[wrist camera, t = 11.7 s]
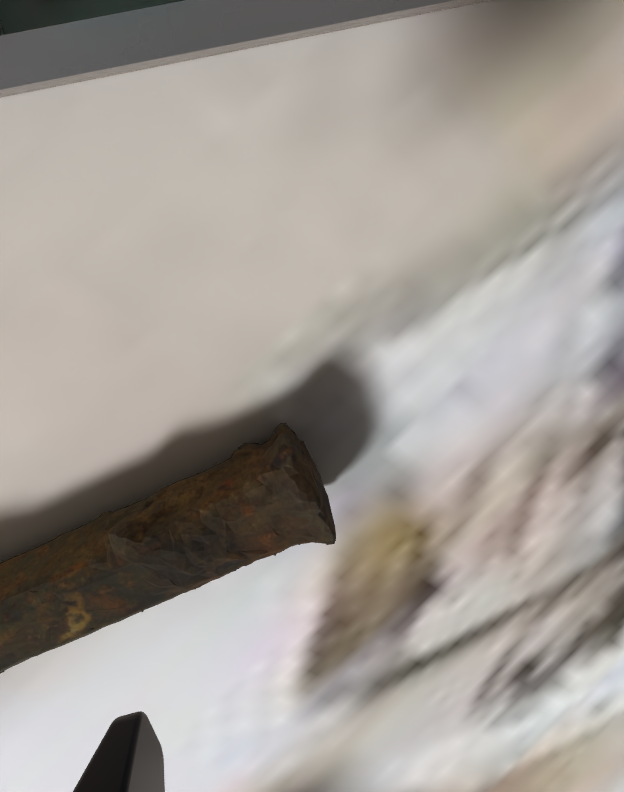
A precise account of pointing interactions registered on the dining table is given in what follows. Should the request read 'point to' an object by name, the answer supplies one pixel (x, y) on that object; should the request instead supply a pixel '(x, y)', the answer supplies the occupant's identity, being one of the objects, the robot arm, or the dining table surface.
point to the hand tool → (163, 546)
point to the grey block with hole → (180, 35)
